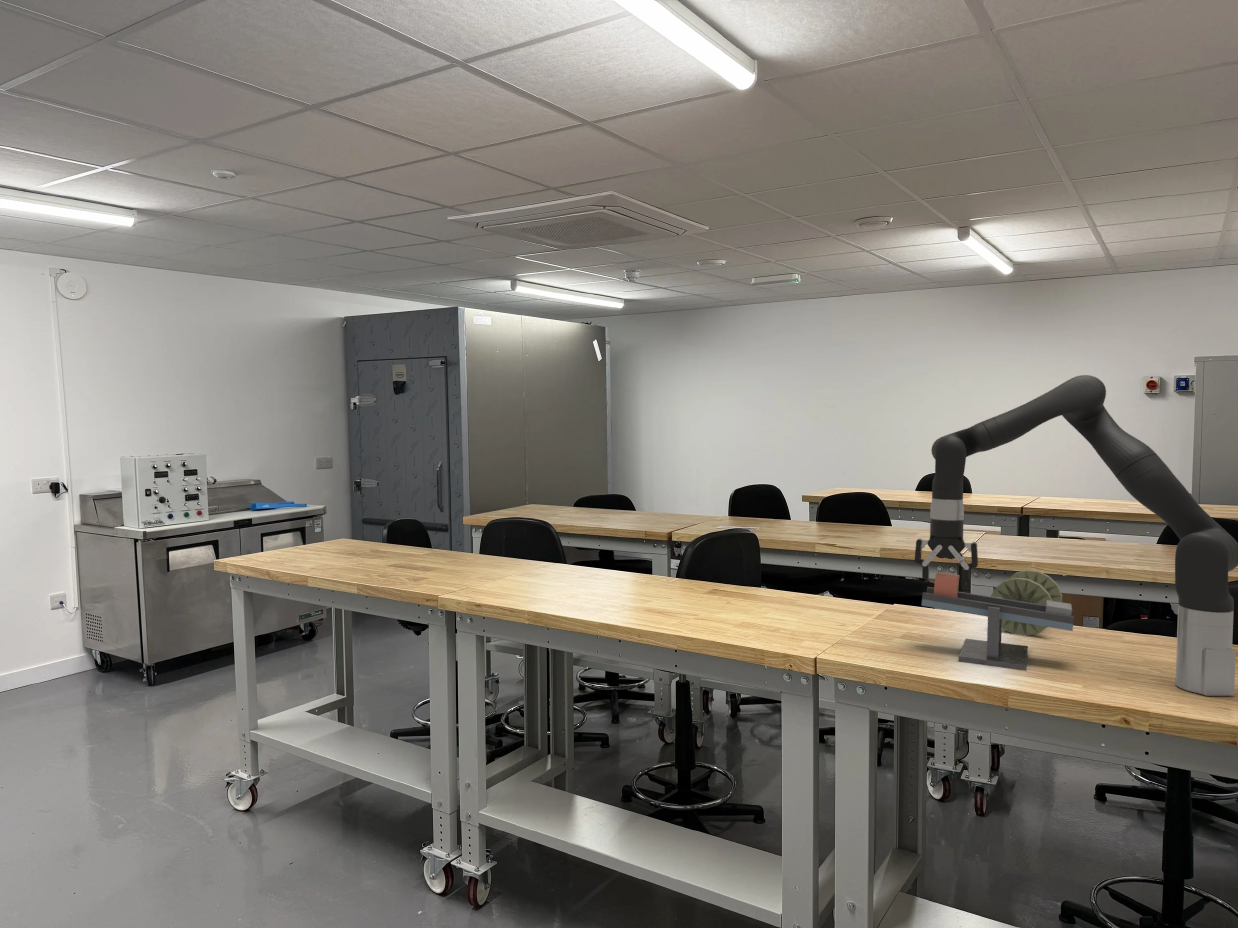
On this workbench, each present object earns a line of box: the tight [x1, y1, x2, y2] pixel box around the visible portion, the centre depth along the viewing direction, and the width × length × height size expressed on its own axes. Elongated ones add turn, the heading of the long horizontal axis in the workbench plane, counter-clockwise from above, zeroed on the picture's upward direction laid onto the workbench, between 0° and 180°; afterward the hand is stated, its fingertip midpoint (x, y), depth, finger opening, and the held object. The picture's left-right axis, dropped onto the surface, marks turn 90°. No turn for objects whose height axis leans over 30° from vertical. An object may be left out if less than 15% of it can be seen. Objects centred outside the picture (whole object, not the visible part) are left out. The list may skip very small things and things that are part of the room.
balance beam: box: [921, 586, 1075, 632], centre depth 185 cm, size 32×11×5 cm, turn 61°
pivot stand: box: [958, 597, 1029, 671], centre depth 185 cm, size 14×18×13 cm
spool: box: [990, 569, 1063, 637], centre depth 212 cm, size 16×15×15 cm
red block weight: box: [933, 571, 960, 598], centre depth 190 cm, size 5×5×6 cm
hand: (945, 582), depth 190 cm, fingers open, 8 cm apart
